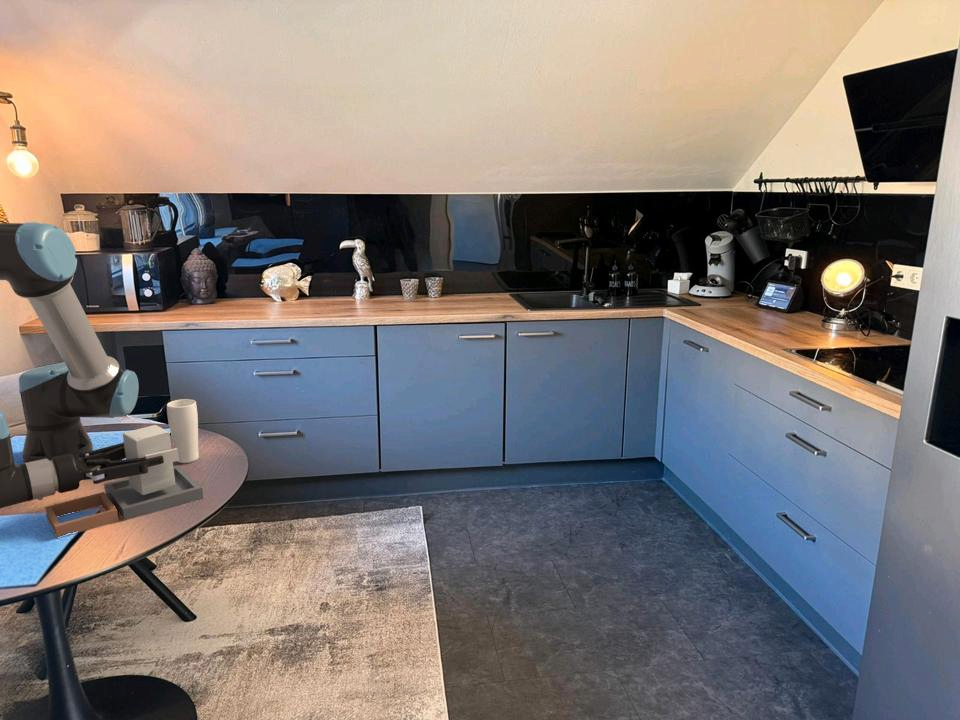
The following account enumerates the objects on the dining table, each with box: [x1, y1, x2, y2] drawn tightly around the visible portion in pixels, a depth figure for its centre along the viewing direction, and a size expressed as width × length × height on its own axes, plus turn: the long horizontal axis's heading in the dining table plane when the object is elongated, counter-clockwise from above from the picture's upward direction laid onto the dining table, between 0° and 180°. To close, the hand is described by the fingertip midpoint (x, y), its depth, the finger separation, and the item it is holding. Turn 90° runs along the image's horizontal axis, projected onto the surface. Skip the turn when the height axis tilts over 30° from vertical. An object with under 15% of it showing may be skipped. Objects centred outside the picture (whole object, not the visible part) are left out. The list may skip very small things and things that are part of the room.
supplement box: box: [122, 424, 175, 495], centre depth 149 cm, size 7×7×13 cm
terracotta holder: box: [44, 491, 119, 539], centre depth 141 cm, size 11×11×2 cm
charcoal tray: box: [103, 464, 204, 521], centre depth 151 cm, size 16×16×2 cm
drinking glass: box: [166, 398, 200, 464], centre depth 169 cm, size 7×7×15 cm
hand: (171, 448), depth 152 cm, fingers closed on supplement box, 8 cm apart
